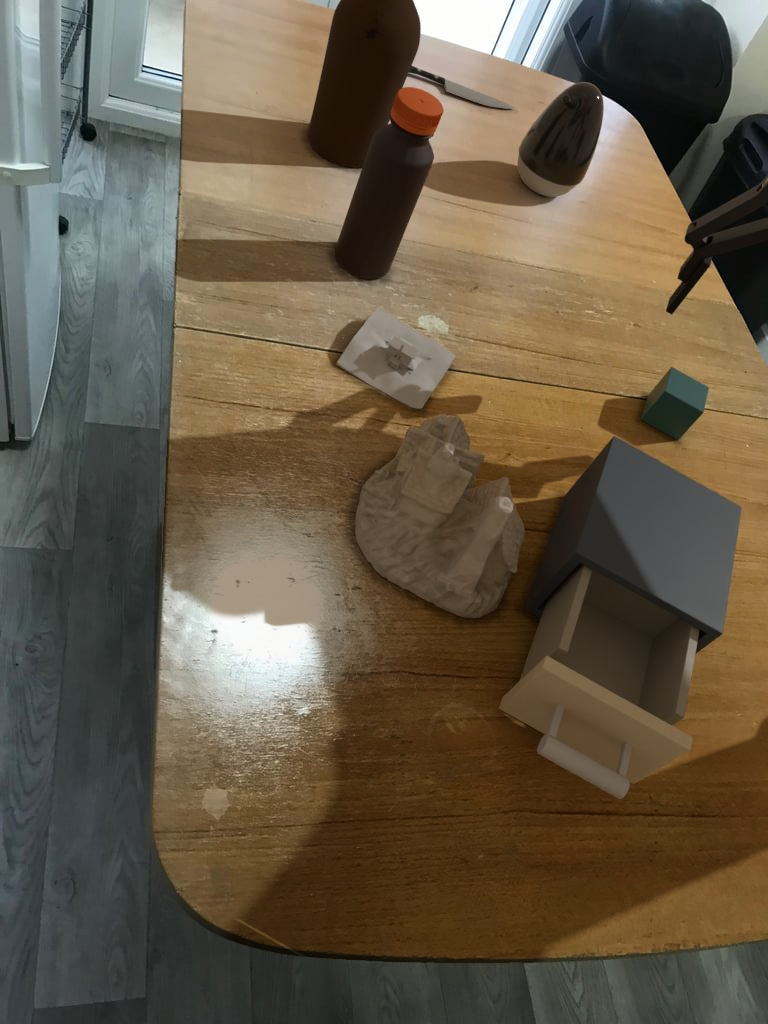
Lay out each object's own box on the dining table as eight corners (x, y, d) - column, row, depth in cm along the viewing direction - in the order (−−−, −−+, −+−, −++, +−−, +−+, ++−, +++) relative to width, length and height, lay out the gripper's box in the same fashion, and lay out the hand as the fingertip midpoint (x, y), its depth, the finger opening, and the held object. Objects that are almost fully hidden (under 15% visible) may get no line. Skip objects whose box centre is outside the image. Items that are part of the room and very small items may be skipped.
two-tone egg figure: (493, 169, 121) (541, 66, 109) (536, 158, 127) (586, 59, 115) (542, 213, 118) (597, 113, 106) (583, 200, 124) (640, 103, 112)
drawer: (623, 833, 65) (682, 803, 59) (482, 754, 65) (526, 716, 59) (662, 646, 78) (714, 605, 72) (543, 580, 78) (585, 533, 72)
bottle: (345, 234, 100) (400, 72, 85) (396, 259, 101) (460, 103, 85) (325, 262, 96) (379, 97, 81) (378, 289, 96) (442, 130, 81)
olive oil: (389, 174, 111) (462, -25, 92) (314, 167, 106) (374, -44, 87) (365, 126, 116) (429, -72, 97) (293, 118, 112) (345, -92, 92)
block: (684, 415, 101) (709, 387, 97) (677, 440, 98) (703, 412, 94) (647, 395, 101) (671, 366, 97) (640, 419, 98) (664, 390, 94)
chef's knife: (515, 119, 132) (515, 108, 134) (518, 113, 131) (518, 102, 133) (401, 78, 128) (402, 67, 129) (403, 71, 127) (404, 60, 128)
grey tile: (331, 378, 85) (341, 352, 83) (353, 311, 93) (363, 285, 90) (440, 419, 87) (454, 394, 84) (453, 350, 94) (466, 325, 91)
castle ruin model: (479, 641, 72) (559, 535, 62) (320, 539, 74) (371, 419, 63) (536, 534, 83) (613, 428, 72) (396, 447, 85) (451, 332, 74)
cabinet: (656, 683, 76) (723, 634, 69) (523, 609, 76) (576, 551, 69) (681, 561, 86) (742, 506, 79) (564, 495, 86) (614, 435, 79)
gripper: (752, 104, 70) (616, 298, 86) (1013, 250, 70) (829, 416, 86) (759, 74, 74) (630, 263, 91) (1004, 211, 75) (831, 375, 91)
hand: (726, 338), depth 88 cm, fingers open, 13 cm apart
